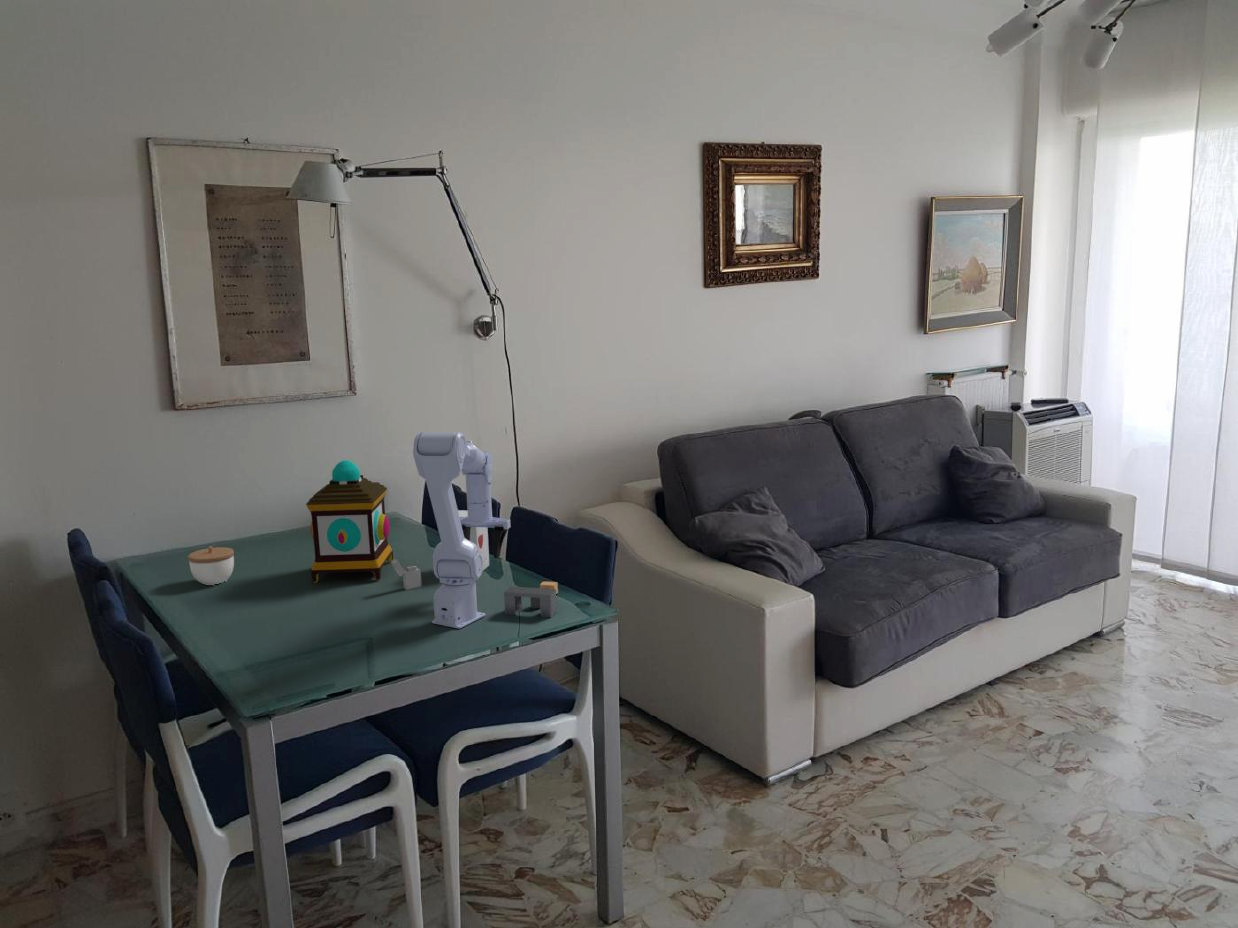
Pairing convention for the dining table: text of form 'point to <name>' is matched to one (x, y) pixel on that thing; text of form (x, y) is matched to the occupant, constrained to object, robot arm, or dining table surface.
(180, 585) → the dining table surface
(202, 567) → the lidded jar
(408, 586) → the lighter
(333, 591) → the dining table surface
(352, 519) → the decorative lantern
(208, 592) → the dining table surface
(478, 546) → the supplement box
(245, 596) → the dining table surface
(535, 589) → the housing
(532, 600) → the plug
